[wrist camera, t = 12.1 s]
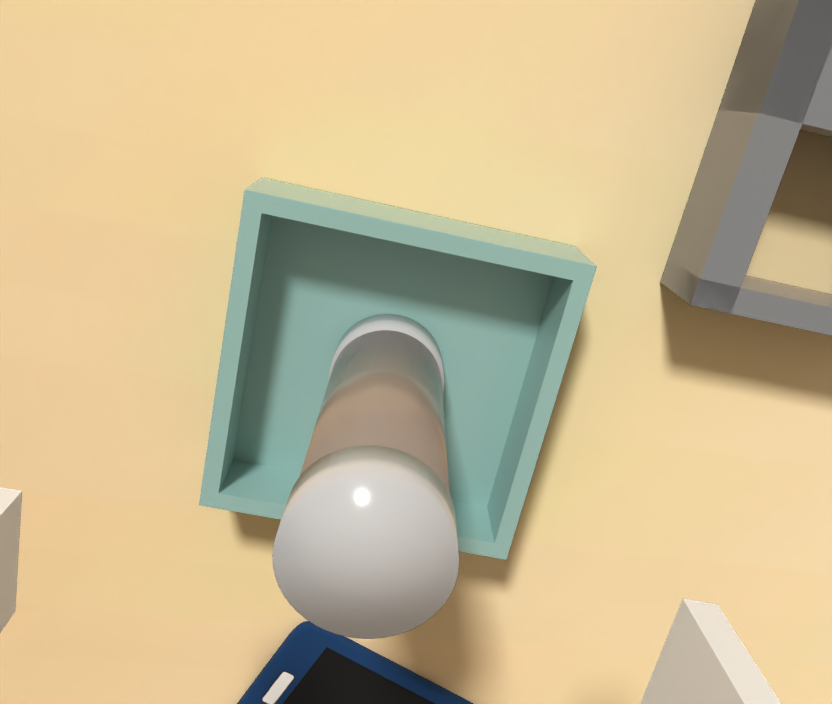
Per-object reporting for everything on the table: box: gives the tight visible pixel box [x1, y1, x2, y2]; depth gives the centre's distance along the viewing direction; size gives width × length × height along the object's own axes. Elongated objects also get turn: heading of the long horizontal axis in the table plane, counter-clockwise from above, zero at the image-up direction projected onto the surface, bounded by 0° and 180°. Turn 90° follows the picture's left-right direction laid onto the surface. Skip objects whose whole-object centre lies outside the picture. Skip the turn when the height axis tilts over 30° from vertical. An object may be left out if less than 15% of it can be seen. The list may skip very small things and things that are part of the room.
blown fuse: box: [272, 314, 459, 639], centre depth 22 cm, size 4×4×12 cm
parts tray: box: [199, 177, 597, 560], centre depth 27 cm, size 11×11×3 cm
